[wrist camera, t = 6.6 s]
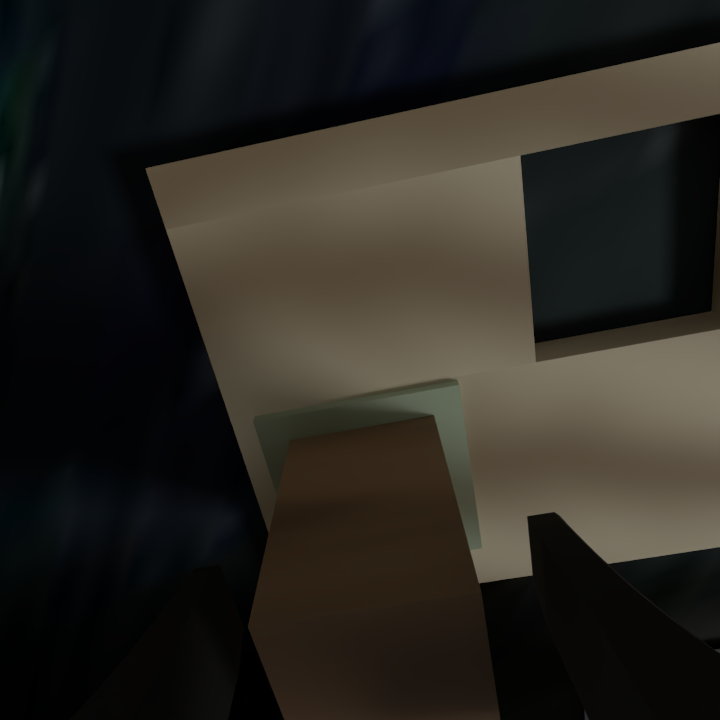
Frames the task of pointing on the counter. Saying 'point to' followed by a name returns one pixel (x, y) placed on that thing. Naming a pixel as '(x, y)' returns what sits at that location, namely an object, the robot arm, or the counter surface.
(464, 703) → the peg
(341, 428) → the board
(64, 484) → the counter surface
